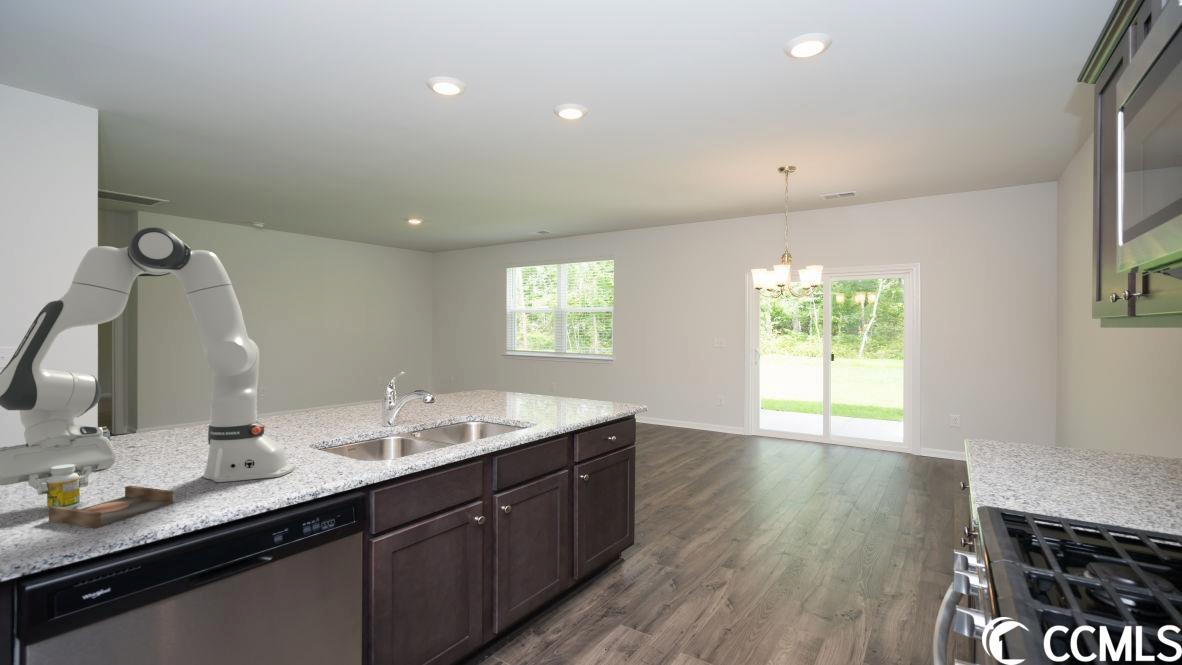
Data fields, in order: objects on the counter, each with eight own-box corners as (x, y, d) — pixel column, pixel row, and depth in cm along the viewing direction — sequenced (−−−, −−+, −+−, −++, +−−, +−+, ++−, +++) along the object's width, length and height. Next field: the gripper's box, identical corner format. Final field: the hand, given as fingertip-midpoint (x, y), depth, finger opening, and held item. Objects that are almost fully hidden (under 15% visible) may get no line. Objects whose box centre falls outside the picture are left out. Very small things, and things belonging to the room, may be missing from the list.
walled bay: (48, 520, 116) (48, 507, 116) (129, 497, 131) (129, 485, 131) (95, 528, 112) (95, 514, 112) (173, 503, 128) (173, 491, 128)
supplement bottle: (84, 505, 126) (84, 464, 125) (55, 513, 121) (54, 470, 120) (71, 502, 128) (71, 462, 127) (41, 509, 123) (41, 467, 122)
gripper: (-10, 440, 119) (-1, 493, 114) (110, 426, 136) (123, 471, 131) (-14, 457, 122) (-5, 509, 116) (104, 441, 139) (117, 486, 133)
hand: (64, 489), depth 124 cm, fingers closed on supplement bottle, 5 cm apart
